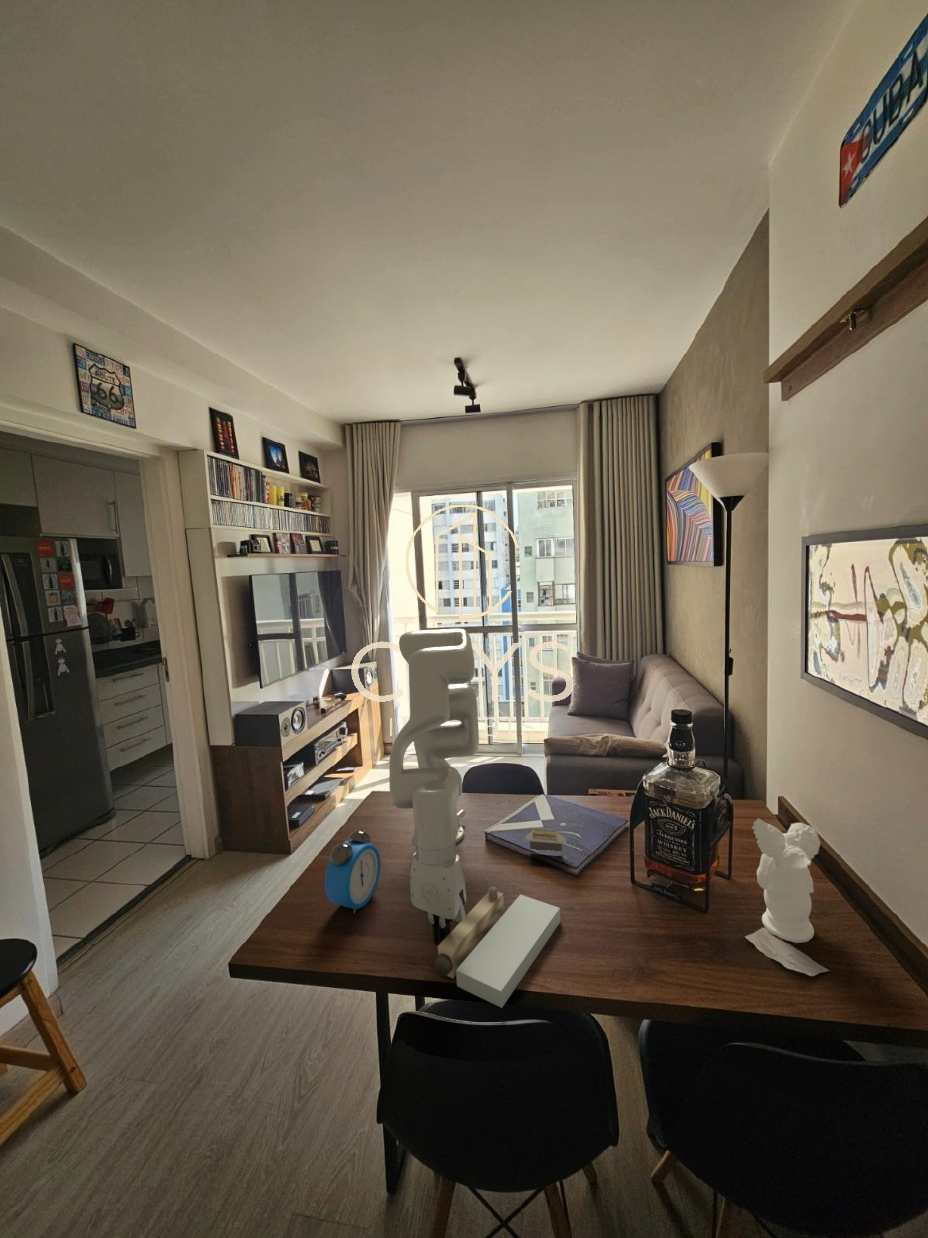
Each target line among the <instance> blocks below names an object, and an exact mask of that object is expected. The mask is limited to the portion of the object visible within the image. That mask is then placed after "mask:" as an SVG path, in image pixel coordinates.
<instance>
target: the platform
mask: <svg viewBox="0 0 928 1238" xmlns="http://www.w3.org/2000/svg"><path fill="white" fill-rule="evenodd" d="M524 841H526V842H529V849H536V850H551V851H552V850H554V851H562V852H563V845H564V844H565V845H566V844H567V839H566V837H564V836H563V835H562V834H561V833H560V832H557V829H554V828H541V827H533V830H532V831H530V832H529V833H528V834H526V835H525V840H524Z"/></svg>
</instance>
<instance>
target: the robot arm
mask: <svg viewBox="0 0 928 1238" xmlns="http://www.w3.org/2000/svg"><path fill="white" fill-rule="evenodd" d="M398 646H399V651H400V654H401V656H402V657H403V659H404V660H405V661H406V663H407V664H408V686H409V688H408V689H409V719H408V721H407V722H406V723H405V725H403V727H402V728H401V729H400V731H399V733H397V735H396V737H395V739H394V742H393V744H392V745H391V749H390V753H389V763H388V764H389V767H388V768H389V777H388V778H389V781H388V782H389V794H390V795H389V796H390V800H391V803H392V805H394V806H395V807H396V808H398V809H403V810H404V809H405V810H406V809H407V810H408V809H412V814H413V830H414V836H413V837H412V838H411V844H412V845H414V846H415V852H414V853H413V855H412V858H411V859H412V860H411V864H410V865H411V866H410V875H409V876H410V877H409V878H410V879H409V885H410V887H409V891H410V902H411V904H412V905H413V906H414V907H415V908H416V909H419V910H422V911H424V913H425V914H426V916H427V917H428V922H429V923H430V924H431V926H432V927H431V928H432V930H431V931H432V936H433V944H434V945H435V946H439V945H440V943H441V942H442V941H443V940H444V939H445V938H446V937H447V936H448V935H449V934H450V933H451V922H452V921H454V922H461V921H462V920H463V919H464V918H465V917H466V911H465V907H466V905H467V892H466V891H467V889H466V883H465V882H466V881H465V875H464V870H463V865H462V862H461V857H460V856H459V855H458V854H457V843H459V842H460V841H461V840H462V839H463V837H464V836H465V835H464V834H465V833H464V832H465V831H464V828H463V826H462V825H460V821H461V819H462V818H464V817H465V816H466V811H465V810H464V809H460V810H459V811H458V809H457V802H458V800H459V798H460V796H462V792H463V779H462V775H461V774H460V772H459V770H457V768H456V767H453V766H451V765H450V763H449V762H448V761H447V760H446V759H453V758H454V759H455V758H464V757H472V756H474V755H476V754H477V753H478V751H479V746H480V736H479V735H480V733H479V732H480V731H479V716H478V715H479V714H478V702H477V701H478V700H477V695H476V691H475V689H474V688H473V686H471V685H470V684H468V683H470V682H471V681H472V680H473V678H474V675H475V668H476V667H475V666H476V665H475V656H474V650H473V645H472V639H471V635H470V633H469V632H468V630H466V629H464V628H443V629H424V630H423V629H422V630H421V629H420V630H413V631H407V632H405V633H403V634H401V636H400V637H399V639H398ZM412 743H413V745H414V750H415V755H416V760H417V766H418V767H414V768H404V759H405V754H406V751H407V750H408V748H409V746H410V745H411V744H412Z"/></svg>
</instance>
